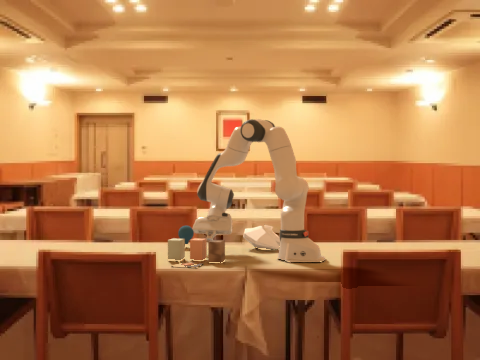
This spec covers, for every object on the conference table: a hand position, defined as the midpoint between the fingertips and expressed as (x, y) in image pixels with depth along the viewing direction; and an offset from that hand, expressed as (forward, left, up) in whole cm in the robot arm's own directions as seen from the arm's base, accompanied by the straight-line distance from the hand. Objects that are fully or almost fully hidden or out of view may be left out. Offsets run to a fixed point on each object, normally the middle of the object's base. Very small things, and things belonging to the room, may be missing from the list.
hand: (209, 239), depth 270 cm
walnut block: (-10, +18, -8) cm, 22 cm away
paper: (-22, -27, -8) cm, 35 cm away
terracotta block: (0, +15, -8) cm, 17 cm away
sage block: (+10, +18, -8) cm, 22 cm away
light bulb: (+20, -19, -8) cm, 29 cm away
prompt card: (0, +29, -8) cm, 30 cm away
